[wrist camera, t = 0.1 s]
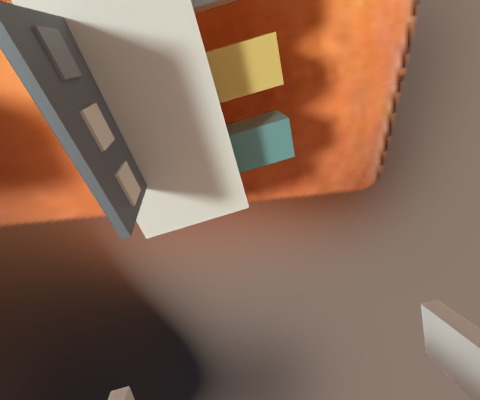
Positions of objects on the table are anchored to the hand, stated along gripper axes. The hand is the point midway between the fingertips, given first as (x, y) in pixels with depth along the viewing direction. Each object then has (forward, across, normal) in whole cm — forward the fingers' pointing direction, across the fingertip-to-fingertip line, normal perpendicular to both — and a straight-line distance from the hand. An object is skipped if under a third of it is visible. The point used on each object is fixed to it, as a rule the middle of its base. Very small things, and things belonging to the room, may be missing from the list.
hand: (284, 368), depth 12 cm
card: (+11, -7, +14) cm, 19 cm away
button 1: (+20, +2, +10) cm, 23 cm away
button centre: (+18, +2, +17) cm, 25 cm away
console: (+23, -4, +18) cm, 30 cm away
